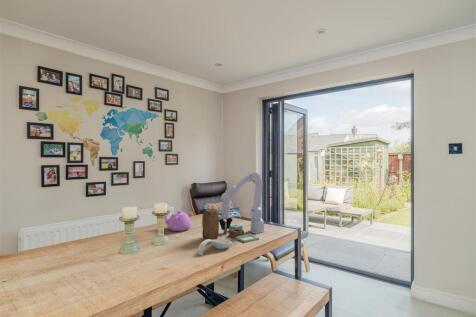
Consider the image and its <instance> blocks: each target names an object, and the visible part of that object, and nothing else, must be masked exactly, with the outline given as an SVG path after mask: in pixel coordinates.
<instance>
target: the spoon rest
mask: <svg viewBox="0 0 476 317" xmlns="http://www.w3.org/2000/svg"><path fill="white" fill-rule="evenodd" d="M209 243H210V244H212V245H213V247H215V248H216V249H217V250H225V249H228V248H229V247H230V246H231V245H232V243H233V242H232V241H231V240H229V239H225V238H224V239H223V238H217V239H214V240H211V239H207V240H204V239H203V241H202V242H200V243H199V245H198V248H197V250H196V255H198V256H200V257H201V256H203V255H204V248H205V246H206V245H207V244H209Z"/></svg>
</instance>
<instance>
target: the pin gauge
mask: <svg viewBox="0 0 476 317" xmlns="http://www.w3.org/2000/svg"><path fill="white" fill-rule="evenodd" d="M223 234H224V235H227V234H228V229H227V222H226V221H225V223H224V230H223Z"/></svg>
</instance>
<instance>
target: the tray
mask: <svg viewBox="0 0 476 317" xmlns="http://www.w3.org/2000/svg"><path fill="white" fill-rule="evenodd" d="M235 240H237V241H239V242H242V243H243V244H246V243H249V242H253V241H258V240H260V237H259V236H257V235H255V234H252V233H248V234H247V233H245V234H244V235H241V236H236V238H235Z"/></svg>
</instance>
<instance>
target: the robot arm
mask: <svg viewBox="0 0 476 317" xmlns="http://www.w3.org/2000/svg"><path fill="white" fill-rule="evenodd" d="M247 182H252V183H253V184H255V186H254V194H253V205H252V207H251V210H250V213H249V215H250V217H251V218H250V229H249V230H247V231H248V232H249V233H251V234H252V233H253V234H259V233H263V232H264V233H265V223H264V219H262V216H263V214H262V208H261V201H262V194H263V185H264V183H263V179H262V178H261V174H260V173H259V172H257V171H249V172H247V173H246V174H245V175H244V176H243V177H242V178H241V179H240V180H239V181H238V182H237V184H235V185H231V186H229V189H227V191H225V192H224V193H222V194H221V215H220V216H219V226H220V229H221V231H224V223H225V222H227V230H229V228H230V225H232V222H233V219H235V215H234V214H230V211H231V210H230V209H231V208H230V206H231V204H230V202H231V199H232V198H233V197H234V196H235V195H236V194H237V193H238V192H239V189H240V188H241V187H243V185H245V184H246V183H247Z"/></svg>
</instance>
